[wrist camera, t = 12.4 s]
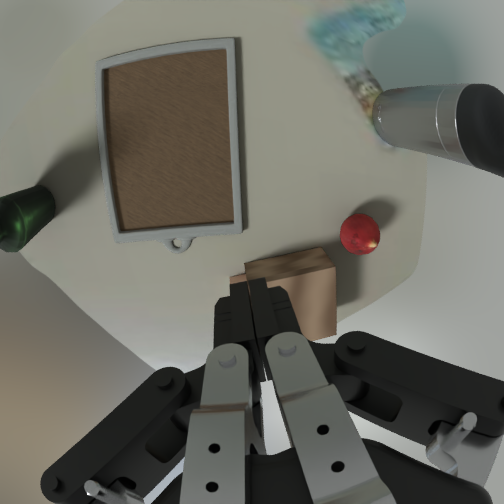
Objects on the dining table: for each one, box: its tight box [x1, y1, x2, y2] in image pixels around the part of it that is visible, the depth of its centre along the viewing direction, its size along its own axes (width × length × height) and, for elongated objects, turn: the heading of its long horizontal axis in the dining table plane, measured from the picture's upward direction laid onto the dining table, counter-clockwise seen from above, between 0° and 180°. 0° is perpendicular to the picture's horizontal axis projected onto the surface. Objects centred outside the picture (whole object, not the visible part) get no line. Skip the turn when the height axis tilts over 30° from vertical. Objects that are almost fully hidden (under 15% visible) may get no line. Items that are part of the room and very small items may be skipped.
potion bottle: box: [0, 185, 55, 252], centre depth 26 cm, size 8×8×18 cm
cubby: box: [244, 247, 337, 341], centre depth 41 cm, size 12×13×6 cm
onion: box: [340, 214, 380, 255], centre depth 37 cm, size 6×6×8 cm
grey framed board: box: [95, 38, 243, 253], centre depth 33 cm, size 19×2×30 cm
